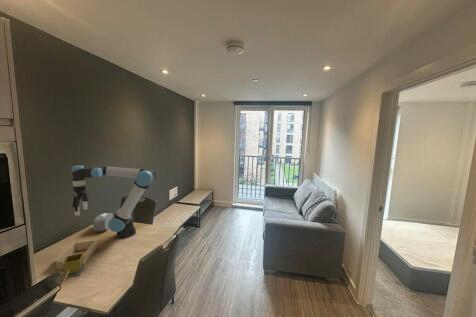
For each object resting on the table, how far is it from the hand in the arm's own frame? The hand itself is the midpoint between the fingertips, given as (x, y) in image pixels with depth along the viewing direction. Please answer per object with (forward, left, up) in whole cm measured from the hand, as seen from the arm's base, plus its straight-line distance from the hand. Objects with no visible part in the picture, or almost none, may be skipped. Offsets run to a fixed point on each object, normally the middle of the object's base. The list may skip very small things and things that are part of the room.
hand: (81, 212), depth 158 cm
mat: (-9, +38, -27) cm, 47 cm away
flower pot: (-9, +38, -26) cm, 47 cm away
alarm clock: (-5, -29, -27) cm, 40 cm away
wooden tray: (-4, +19, -27) cm, 33 cm away
